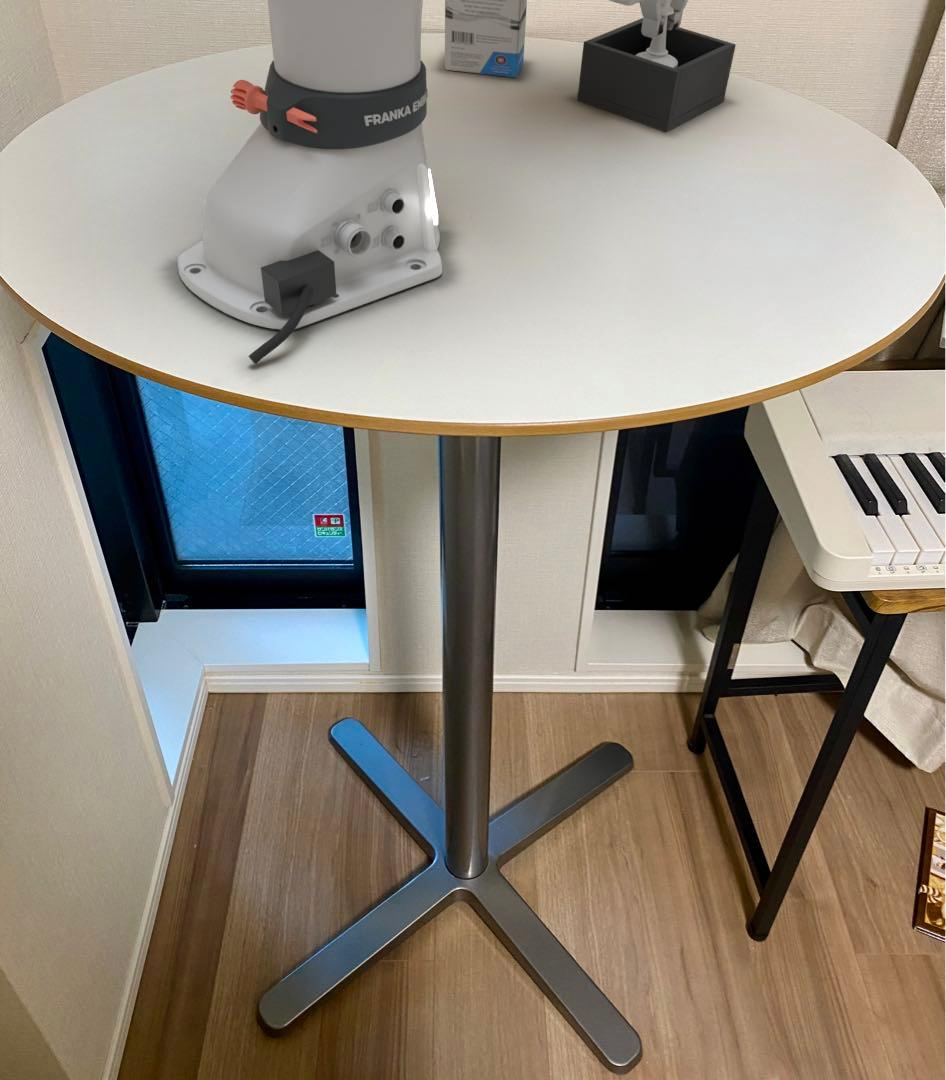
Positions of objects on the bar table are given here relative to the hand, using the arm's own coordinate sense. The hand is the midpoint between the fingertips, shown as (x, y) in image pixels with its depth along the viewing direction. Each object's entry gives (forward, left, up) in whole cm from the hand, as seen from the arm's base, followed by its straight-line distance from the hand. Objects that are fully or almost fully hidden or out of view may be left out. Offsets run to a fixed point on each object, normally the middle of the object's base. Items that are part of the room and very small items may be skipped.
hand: (660, 31), depth 104 cm
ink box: (-6, +19, -7) cm, 21 cm away
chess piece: (0, 0, -4) cm, 4 cm away
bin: (0, 0, -7) cm, 7 cm away
